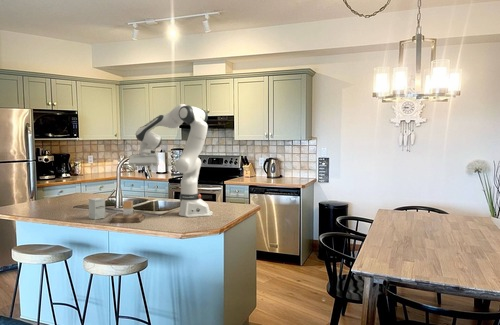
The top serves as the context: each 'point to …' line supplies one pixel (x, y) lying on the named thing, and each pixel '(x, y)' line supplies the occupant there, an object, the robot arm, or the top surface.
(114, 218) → the walnut stand
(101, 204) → the supplement box
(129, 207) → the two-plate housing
